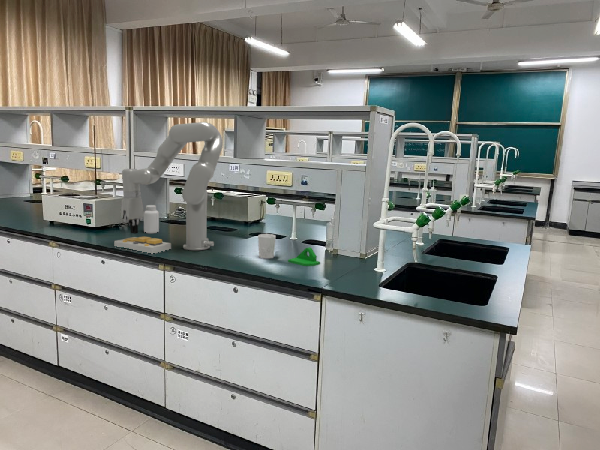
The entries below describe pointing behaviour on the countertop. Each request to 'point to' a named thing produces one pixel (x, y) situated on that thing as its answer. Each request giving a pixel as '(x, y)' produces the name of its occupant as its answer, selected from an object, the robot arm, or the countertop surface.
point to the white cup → (266, 245)
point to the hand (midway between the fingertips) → (134, 233)
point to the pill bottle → (151, 219)
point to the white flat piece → (142, 246)
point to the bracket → (305, 258)
